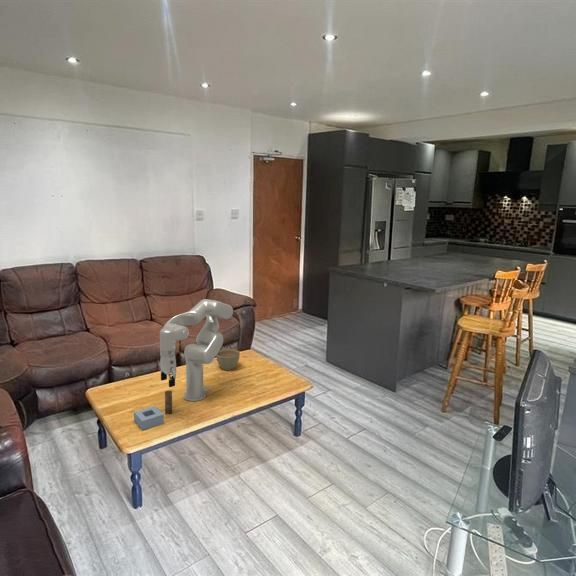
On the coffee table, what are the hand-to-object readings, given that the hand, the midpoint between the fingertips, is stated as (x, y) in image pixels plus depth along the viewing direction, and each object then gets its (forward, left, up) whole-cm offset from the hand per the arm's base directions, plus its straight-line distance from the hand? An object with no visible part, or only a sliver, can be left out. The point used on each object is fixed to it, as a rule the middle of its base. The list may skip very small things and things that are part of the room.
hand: (167, 383), depth 216 cm
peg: (0, 0, -17) cm, 17 cm away
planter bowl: (-58, -34, -17) cm, 70 cm away
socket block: (+12, +3, -17) cm, 21 cm away
